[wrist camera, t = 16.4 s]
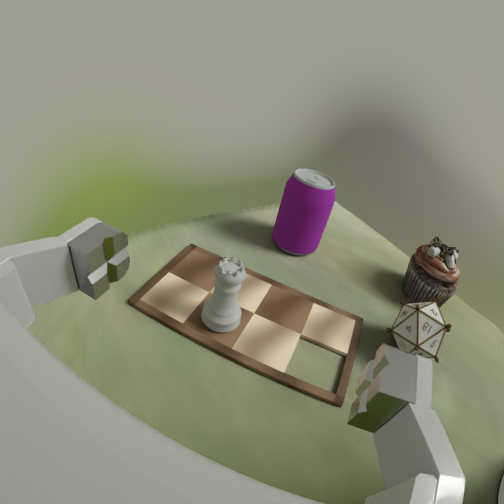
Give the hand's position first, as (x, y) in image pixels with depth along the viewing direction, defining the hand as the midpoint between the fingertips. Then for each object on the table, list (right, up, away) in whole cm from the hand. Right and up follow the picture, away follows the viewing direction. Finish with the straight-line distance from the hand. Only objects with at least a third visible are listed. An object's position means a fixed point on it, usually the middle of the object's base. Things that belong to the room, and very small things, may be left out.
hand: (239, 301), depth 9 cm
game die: (+20, -12, +28) cm, 36 cm away
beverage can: (+7, +3, +43) cm, 43 cm away
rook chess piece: (-3, -6, +26) cm, 27 cm away
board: (+1, -6, +28) cm, 29 cm away
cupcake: (+29, -6, +38) cm, 48 cm away
